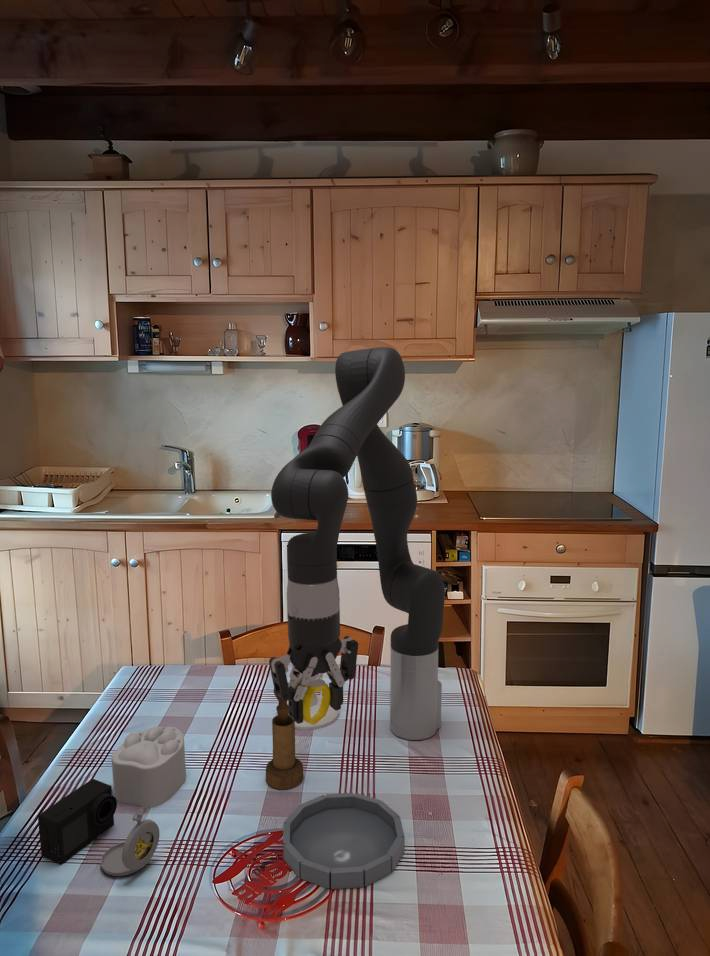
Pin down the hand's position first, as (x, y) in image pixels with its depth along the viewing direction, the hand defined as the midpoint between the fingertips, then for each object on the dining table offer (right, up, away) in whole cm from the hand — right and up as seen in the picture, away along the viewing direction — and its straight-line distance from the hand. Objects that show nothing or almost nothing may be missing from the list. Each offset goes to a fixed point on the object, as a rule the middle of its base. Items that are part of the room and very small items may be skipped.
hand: (316, 714), depth 107 cm
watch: (0, -1, 0) cm, 1 cm away
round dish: (+4, -21, +3) cm, 21 cm away
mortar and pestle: (-7, -18, +20) cm, 28 cm away
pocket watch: (-27, -22, -1) cm, 35 cm away
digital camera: (-36, -21, +4) cm, 42 cm away
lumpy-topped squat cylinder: (-29, -18, +19) cm, 39 cm away
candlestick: (-4, -14, +42) cm, 44 cm away
